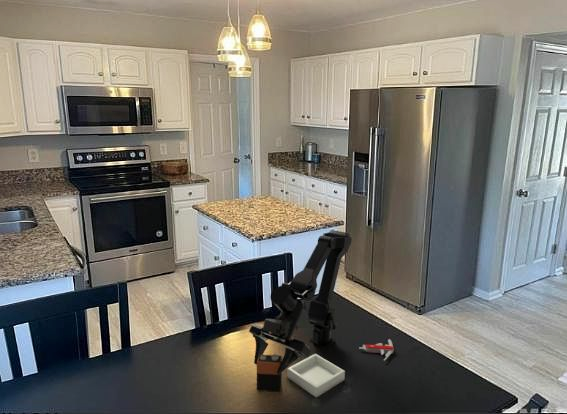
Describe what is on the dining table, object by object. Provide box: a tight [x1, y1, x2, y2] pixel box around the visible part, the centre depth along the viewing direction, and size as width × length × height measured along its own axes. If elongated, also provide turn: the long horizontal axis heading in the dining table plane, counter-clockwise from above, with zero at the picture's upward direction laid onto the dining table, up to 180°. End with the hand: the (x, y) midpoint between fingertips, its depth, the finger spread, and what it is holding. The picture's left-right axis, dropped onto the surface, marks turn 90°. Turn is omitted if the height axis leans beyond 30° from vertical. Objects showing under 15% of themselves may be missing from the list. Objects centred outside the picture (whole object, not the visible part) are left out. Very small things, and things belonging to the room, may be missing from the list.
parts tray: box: [286, 353, 346, 398], centre depth 123 cm, size 12×12×3 cm
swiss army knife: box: [358, 338, 395, 362], centre depth 138 cm, size 12×14×2 cm
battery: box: [256, 353, 283, 393], centre depth 118 cm, size 4×7×10 cm, turn 86°
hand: (266, 368), depth 117 cm, fingers closed on battery, 8 cm apart
